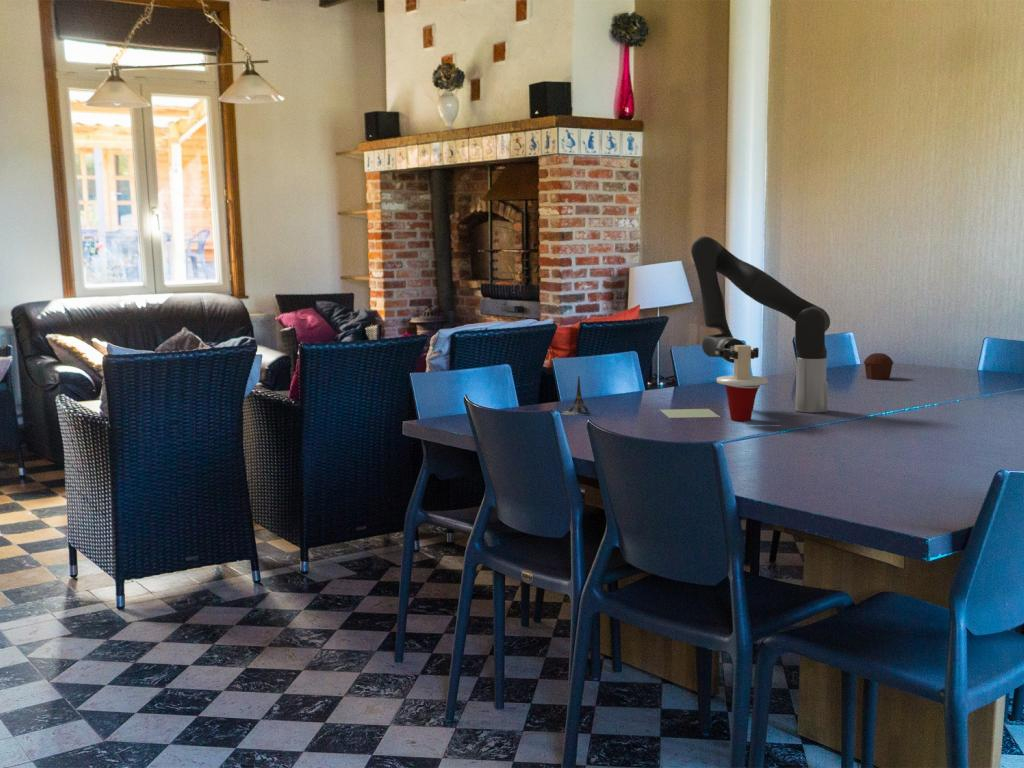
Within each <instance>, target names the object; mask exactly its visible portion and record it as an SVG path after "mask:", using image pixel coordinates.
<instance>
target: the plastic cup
mask: <svg viewBox="0 0 1024 768" xmlns="http://www.w3.org/2000/svg"><path fill="white" fill-rule="evenodd" d="M724 386H725V390H726V396H727V404H728V411H729V417H730V420H731V421H733V422H741V423H742V422H750V421H751V420H752V415H753V411H754V406H755V401H756V396H757V393H758V390H759V388H761V385H759V386H732V385H724Z"/></svg>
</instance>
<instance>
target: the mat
mask: <svg viewBox="0 0 1024 768" xmlns="http://www.w3.org/2000/svg"><path fill="white" fill-rule="evenodd" d="M659 411H660V412H662V413H663V414H664V415H665V416H666V417H667V418H669V419H673V418H674V419H679V418H680V419H682V418H685V419H686V418H721V416H720V415H719V414H717V413H715V412H714V411H712V410H711V409H709V408H689V409H688V408H687V409H686V408H685V409H684V408H683V409H682V408H681V409H679V408H678V409H659Z"/></svg>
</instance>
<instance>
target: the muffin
mask: <svg viewBox="0 0 1024 768" xmlns="http://www.w3.org/2000/svg"><path fill="white" fill-rule="evenodd" d="M863 364H864V370H865V378H866V379H867V380H872V381H873V380H874V381H875V380H877V381H885V380H886V381H887V380H890V379H891V374H892V373H891V372H892V369H893V365H894V361H893V360H892V358H891V357H890V356H889V355H887V354H886V353H882V352H875V353H871V354H869V355H868V356H867V357H865V359H864V360H863Z"/></svg>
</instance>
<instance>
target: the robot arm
mask: <svg viewBox="0 0 1024 768" xmlns="http://www.w3.org/2000/svg"><path fill="white" fill-rule="evenodd" d="M690 248H691V249H690V252H691V257H692V260H693V264H694V266H695V271H696V273H697V278H698V282H699V288H700V295H701V302H702V311H703V317H704V324H705V327H706V328H709V329H716V330H719V331H720V333H717V334H710V335H707V336H705V337H704V338H703V339H702V342H701V348H702V351H703V353H704V354H705V355H706V356H707V357H710V358H721V359H722V360H724V361H725V362H729V363H731V364H734V359H738V352H737V351H734V347H735V345H745V343H744V342H743V341H742V340H740V339H737V338H735V337H734V335H733V334H732V332H731V330H730V327H729V324H728V320H727V314H726V307H725V301H724V297H723V293H722V290H721V287H720V282H719V279H718V273H719V274H721V275H722V276H724V277H725V278H727V279H728V280H729V281H730V282H731V283H732V284H733V286H735V287H736V288H738V289H739V290H740V291H741V292H742V293H744V294H745V295H746V296H748V297H749V298H751V299H752V300H753V301H755V302H757V303H759V304H761V305H763V306H765V307H767V308H768V309H771V310H775V311H776V312H779V313H781V314H783V315H785V316H787V317H788V318H789V319H791V320H793V322H795V323H794V325H795V327H794V328H795V329H794V331H795V332H794V334H795V335H794V336H795V337H794V338H795V339H794V340H795V341H794V344H795V351H796V370H795V371H796V372H795V373H796V374H795V375H796V376H795V404H794V405H795V407H794V408H795V409H794V410H795V411H796V412H799V413H800V412H801V413H823V412H825V413H827V412H828V404H829V403H828V399H829V392H828V391H829V382H828V381H827V355H828V354H827V353H828V349H827V347H826V343H825V341H826V338H825V337H826V336H825V333H826V331H828V330H829V328H830V326H831V318H830V315H829V314H828V312H827V311H826V310H825V309H824V308H821V306H820V307H819V306H817V305H816V304H814V303H812V302H810V301H808V300H806V299H805V298H802V297H801V296H799V295H797V294H796V293H795V292H793V291H792V290H791V289H790V288H788V287H787V286H785V285H784V284H783V283H781V282H780V281H779V280H777V279H776V278H774V277H773V276H771V275H770V274H768V273H766V272H765V271H764V270H762V269H760V268H758V267H756V266H755V265H752V264H750V263H749V262H746V261H744V260H742V259H740V258H738V257H737V256H736V255H734V254H733V253H731V251H730V250H728V249H727V248H725V246H723V245H722V244H721V243H720V242H718V241H717V240H715V239H714V238H712V237H710V236H700V237H698V238H696V239H695V240H694V242H692V245H691V247H690ZM759 349H760V348H759V347H757V346H756V347H753V348H751V360H754V359H757V358H759V357H760V356H759V351H760V350H759Z"/></svg>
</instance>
